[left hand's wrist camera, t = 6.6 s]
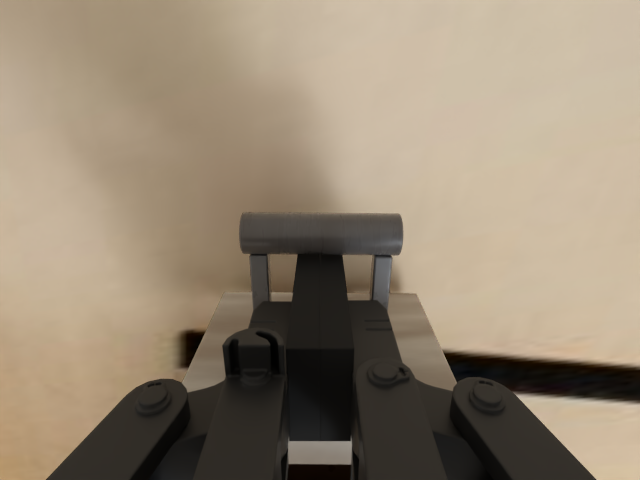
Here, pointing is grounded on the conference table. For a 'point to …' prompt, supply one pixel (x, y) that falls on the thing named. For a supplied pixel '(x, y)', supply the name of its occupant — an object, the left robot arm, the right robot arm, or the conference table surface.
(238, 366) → the left robot arm
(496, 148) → the conference table surface
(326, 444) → the drawer
